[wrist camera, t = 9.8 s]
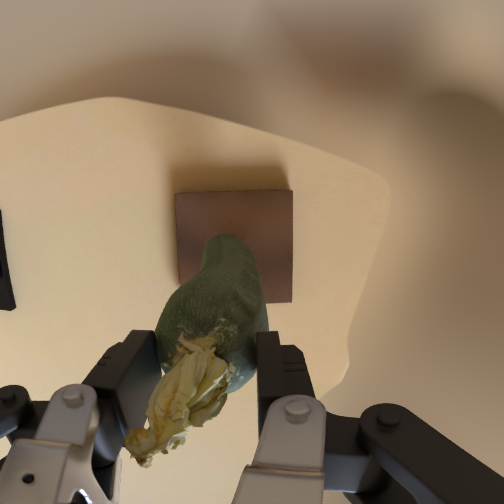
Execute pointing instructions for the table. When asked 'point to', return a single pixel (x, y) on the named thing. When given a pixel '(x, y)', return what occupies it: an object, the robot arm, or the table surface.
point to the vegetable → (203, 346)
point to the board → (240, 233)
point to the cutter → (5, 277)
